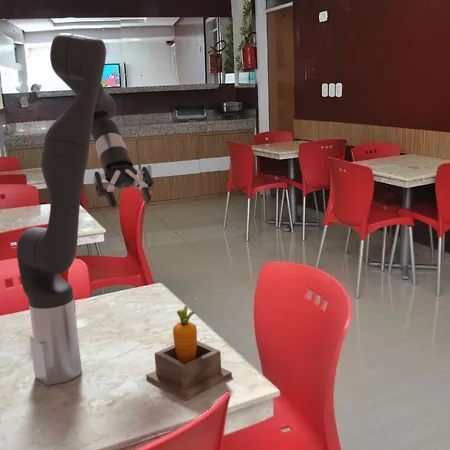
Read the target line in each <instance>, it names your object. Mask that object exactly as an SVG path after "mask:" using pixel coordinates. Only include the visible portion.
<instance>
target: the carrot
mask: <svg viewBox="0 0 450 450" xmlns="http://www.w3.org/2000/svg"><path fill="white" fill-rule="evenodd" d="M176 313H177V315H178V317H179V321H180V322H177V323H176V324H175V325H174V326H173V329H172V334H173V335H172V336H173V345H175V350H176V354H177V357H178V360H179V361H180V362H182V363H184V364H186V363H188V362H190V361H192V360H194V359H195V356H196V349H197V341H198V333H197V325H196V324H194V323H193V322H191V321H190V318H191V317H192V316H193V315H194V314H195V313H196V311H194V310H192V311H190V312H189V313H188V305H187V306H184V307H183V309H178V310H177V311H176Z"/></svg>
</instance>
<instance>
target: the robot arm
mask: <svg viewBox="0 0 450 450" xmlns="http://www.w3.org/2000/svg"><path fill="white" fill-rule="evenodd" d="M49 55H50V56H49V59H50V64H51V68H52V70H53V72H54V73H55V74H56V76H57V77H58V78H59V79H61V80H62V82H64V84H66V86H68V88H69V89H70V90H72V92H73V94H75V96H76V97H75V99H73V101H72V103H71V104H70V105H69V106H68V107H67V108H66V110H65V111H64V112H62V113H61V115H59V117H57V119H56V120H55V121H54V122H53V123H52V124H51V125H50V127H49V128H48V130H47V131H46V133H45V137H44V144H43V148H42V153H41V160H40V161H41V163H40V164H41V165H40V166H41V170H42V171H41V172H42V175H43V179H44V182H45V185H46V190H47V192H48V195H49V203H50V204H49V205H50V206H49V218H48V221H47V227H42V226H34V227H30V228H27V229H26V230H24V231H23V232H22V234H21V235H20V237H19V238H18V241H17V245H16V259H17V265H18V270H19V271H18V272H19V275H20V282H21V286H22V290H23V292H24V294H25V296H26V297H27V299H28V300H27V301H28V304H29V313H30V323H31V327H32V328H31V329H32V335H31V336H29V340H30V349H31V356H32V365H33V371H34V377H35V378H36V379H37V380H39V381H40V382H42V383H43V384H45V385H46V386H50V385H55V384H63V383H66V382H69V381H72V380H73V379H75V378H77V377H78V376H79V375H80V374H81V373H82V368H83V367H82V359H81V353H80V343H79V333H78V326H77V317H76V315H77V314H76V313H75V309H76V305H75V306H74V301H75V299H74V289H73V287H72V285H71V284H70V283H69V281H68V282H66V281H65V280H64V279H63V278H62V277H61V276H60V275H59V274H61V273H64V272H65V271H67V270H68V269H69V268H70V267H72V264H73V263H74V260H75V257H76V254H77V247H78V239H79V238H78V237H79V236H78V235H79V222H80V221H79V220H80V219H79V218H80V207H81V206H80V205H81V199H82V191H83V184H84V180H85V173H86V169H87V164H88V157H89V152H90V144H91V137H92V139H93V141H94V146H95V149H96V153H97V159H99V162H100V165H101V167H102V171H103V173H100V171H94V174H93V175H94V176H93V184H94V187H95V191H96V195H97V196H98V197H106V200H107V203H108V205H109V207H110V208H112V209H113V210H114V209H117V207H118V206H117V205H118V203H117V202H118V201H117V200H116V196H115V194H114V191H115V188H117V189H122V188H133V189H135V190H138V191H139V192H141V196H142V198H143V201H144V204H145V205H149V204H150V202H151V200H152V195H151V192H150V191H152V190H153V186H154V184H155V183H154V181H153V178H152V176H151V174H150V172H149V170H148V168H147V167H146V166H143V167H142V168H140V169H136V168H135V167H134V164H133V160H132V159H131V156H130V154H129V151H128V148H127V146H126V143H125V141H124V140H123V138H122V136H121V133H120V130H119V128H118V126H117V124H116V122H115V121H113V120H112V119H113V118H114V117H115V116H116V114H117V111H118V109H117V104H116V102H115V100H114V98H113V97H112V96H111V95H110V94H109V93H108V92H107V91H105V89H104V87H103V83H102V79H103V75H104V70H105V65H106V59H107V58H106V55H107V49H106V44H105V42H104V41H103V40H102V39H101V38H97V37H92V36H87V35H81V34H80V35H79V34H73V33H65V32H62V33H58V34H56V35H55V36H54V38H53V39H52V42H51V46H50V52H49ZM104 180H105V181H106V182H108V186H107V188H104V185H103V182H104ZM68 271H69V270H68Z"/></svg>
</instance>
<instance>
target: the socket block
mask: <svg viewBox="0 0 450 450" xmlns="http://www.w3.org/2000/svg"><path fill="white" fill-rule="evenodd" d="M221 358H222V357H221V350H219V349H217V348H214V347H212V346H211V345H207V344H205V343H203V342H200V341H198V340H197V349H196V356H195V359H194V360H192V361H190V362H188V363H186V364H184V363H182V362H180V361H179V360H178V357H177V354H176V350H175V344H172V345H171V346H170V345H169V346H168V347H166V348H163V349H161V350H159V351H156V352H154V360H155V362H154V364H155V370H154V371H152V372H149V373H147V374H146V375H145V376H146V377H145V378H146V380H147V381H149V382H151V383H152V384H155V385H156V386H158V387H160V388H162V389H164V390H165V391H167V392H169V393H170V394H173V395H174V396H175V397H178V398H179V399H181V400H183V401H184V402H185V401H187V400H190V399H191V398H193V397H195V396H197V395H199V394H201V393H203V392H205V391H207V390H209V389H211V388H212V387H214V386H216V385H218V384H220V383H222V382H223V381H226V380H228V379H230V378H232V377H233V372H232V371H229V370H228V369H226V368H223V367H222V359H221Z"/></svg>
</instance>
